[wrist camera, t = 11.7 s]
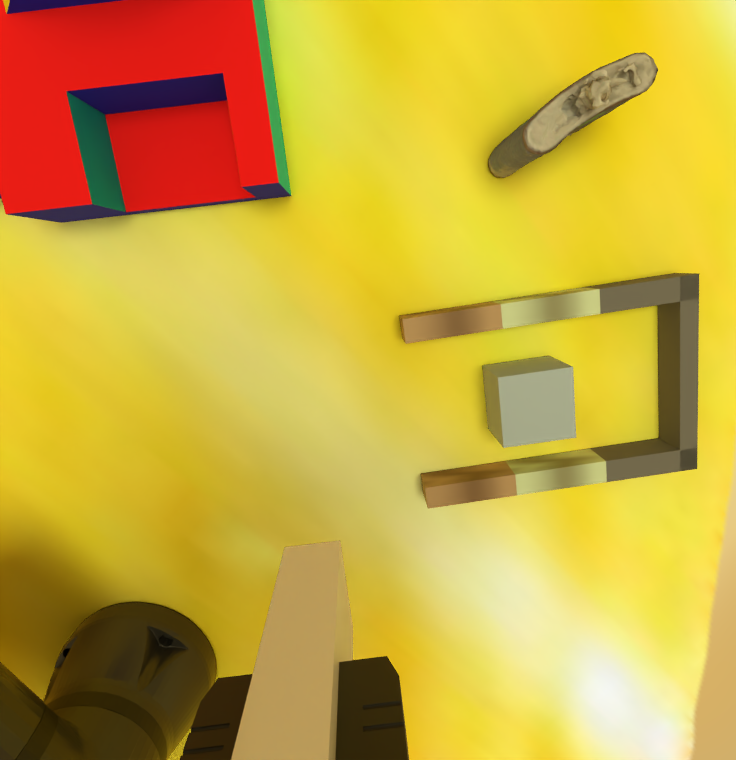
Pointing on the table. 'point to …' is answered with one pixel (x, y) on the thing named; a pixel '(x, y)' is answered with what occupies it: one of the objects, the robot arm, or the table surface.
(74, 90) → the building blocks toy
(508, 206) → the table surface
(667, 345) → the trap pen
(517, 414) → the block
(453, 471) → the channel rails
